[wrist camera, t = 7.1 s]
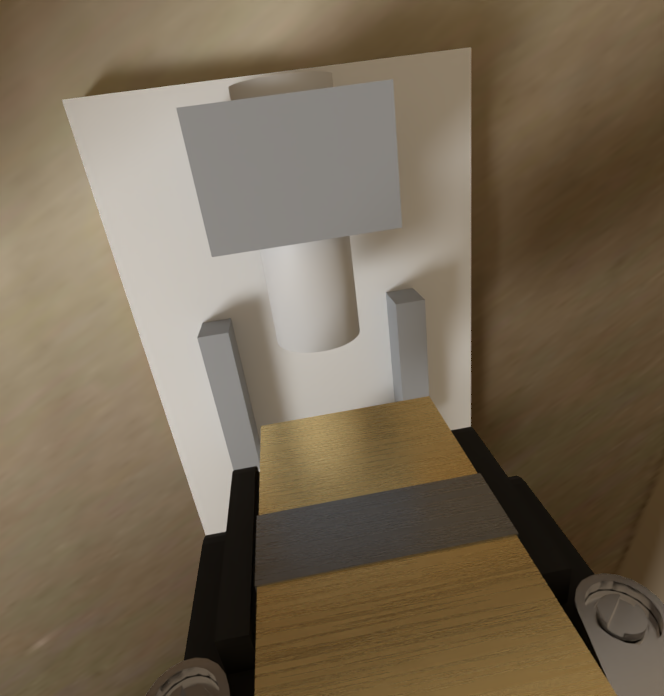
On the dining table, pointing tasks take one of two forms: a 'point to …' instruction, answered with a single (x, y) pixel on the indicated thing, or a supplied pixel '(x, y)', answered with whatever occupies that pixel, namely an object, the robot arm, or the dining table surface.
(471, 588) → the block
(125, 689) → the dining table surface
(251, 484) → the robot arm
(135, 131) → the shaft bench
